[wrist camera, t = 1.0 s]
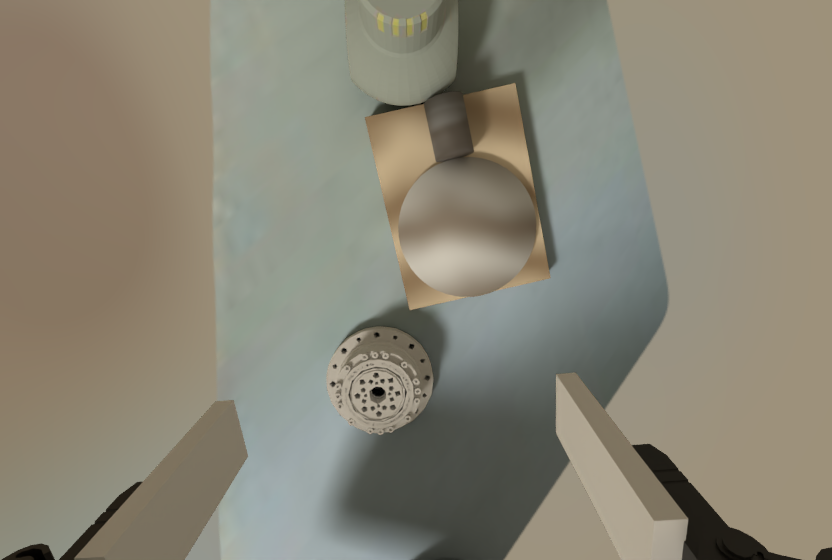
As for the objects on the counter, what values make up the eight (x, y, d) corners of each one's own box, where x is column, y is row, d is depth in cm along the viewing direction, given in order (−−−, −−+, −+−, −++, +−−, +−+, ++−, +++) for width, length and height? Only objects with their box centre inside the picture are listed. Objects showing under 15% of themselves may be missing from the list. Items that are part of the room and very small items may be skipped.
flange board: (544, 276, 36) (565, 283, 31) (409, 306, 36) (410, 318, 31) (510, 89, 34) (527, 66, 29) (366, 122, 34) (360, 104, 29)
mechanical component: (435, 420, 38) (429, 322, 36) (438, 445, 33) (432, 334, 32) (333, 427, 38) (325, 328, 36) (324, 453, 33) (313, 342, 32)
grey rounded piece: (450, 114, 34) (469, 66, 24) (357, 116, 34) (337, 68, 24) (449, -20, 32) (468, -131, 22) (352, -20, 32) (328, -131, 22)
